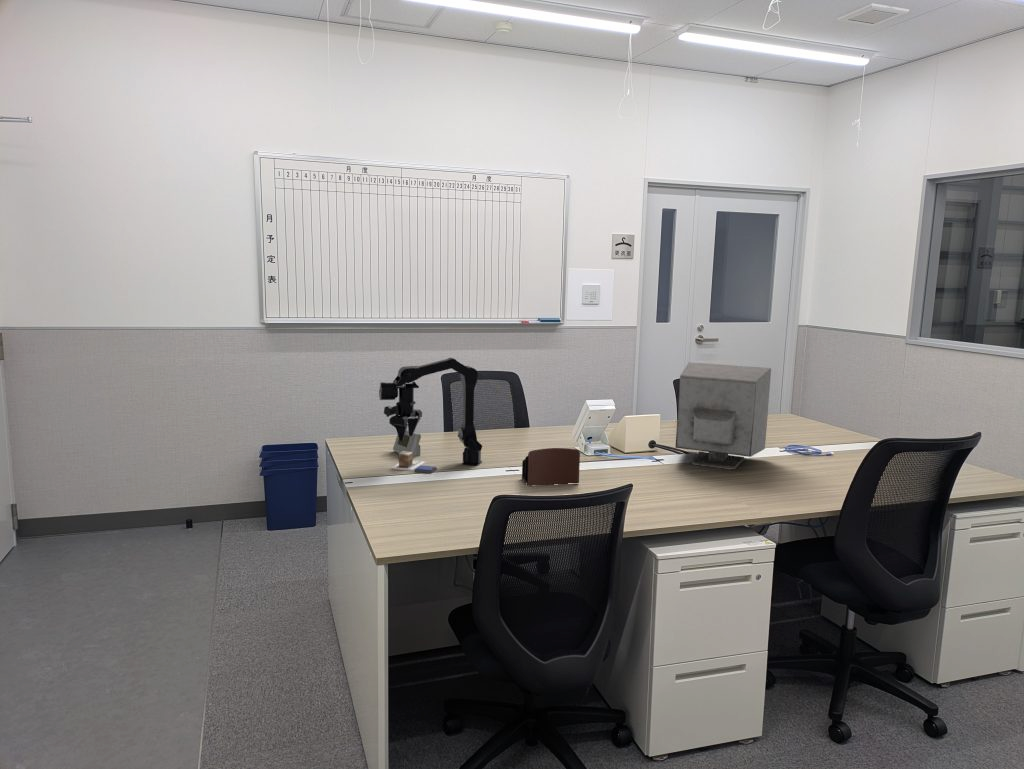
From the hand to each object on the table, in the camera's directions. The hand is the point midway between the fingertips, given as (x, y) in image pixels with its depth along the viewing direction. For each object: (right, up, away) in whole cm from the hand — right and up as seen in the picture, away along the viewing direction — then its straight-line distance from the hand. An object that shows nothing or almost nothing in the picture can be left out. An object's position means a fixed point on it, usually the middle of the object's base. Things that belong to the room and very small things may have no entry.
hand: (406, 438), depth 290 cm
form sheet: (0, -11, +5) cm, 12 cm away
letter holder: (+56, -16, -12) cm, 59 cm away
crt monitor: (+128, -12, +21) cm, 130 cm away
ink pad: (+8, -13, -2) cm, 15 cm away
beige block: (0, -11, +2) cm, 11 cm away
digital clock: (-3, -9, +22) cm, 24 cm away
